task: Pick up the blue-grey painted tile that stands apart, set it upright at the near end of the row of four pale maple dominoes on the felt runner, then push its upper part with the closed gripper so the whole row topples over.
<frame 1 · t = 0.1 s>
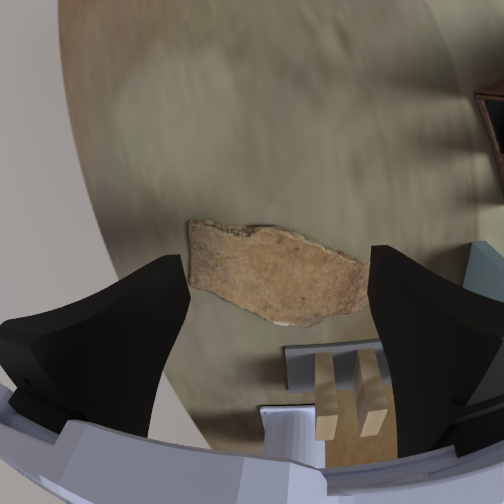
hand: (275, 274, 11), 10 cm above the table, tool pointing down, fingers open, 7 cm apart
tile d: (322, 368, 26), resting on felt runner
felt runner: (411, 358, 25), on the table
pottery shard: (284, 270, 23), on the table
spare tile: (473, 265, 20), on the table
tile c: (362, 364, 26), resting on felt runner
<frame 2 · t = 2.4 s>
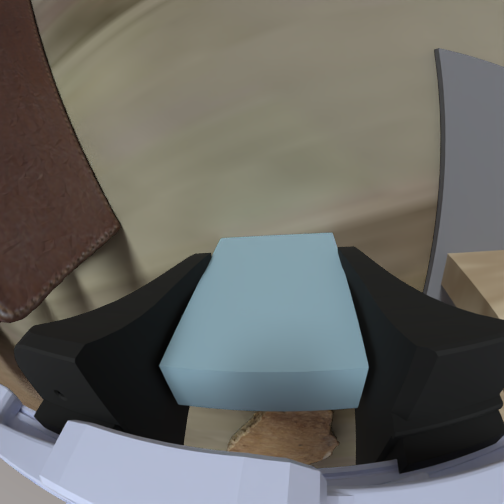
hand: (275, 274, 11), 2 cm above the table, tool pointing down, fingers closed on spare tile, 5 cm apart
felt runner: (466, 316, 13), on the table
pottery shard: (280, 434, 20), on the table
tile a: (480, 266, 11), resting on felt runner
letter holder: (5, 114, 11), on the table
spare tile: (277, 252, 12), on the table, touching gripper
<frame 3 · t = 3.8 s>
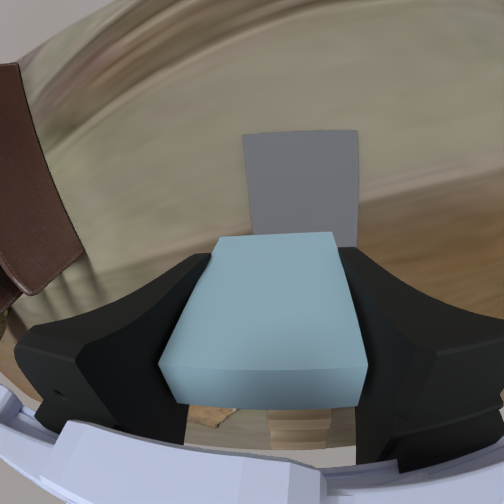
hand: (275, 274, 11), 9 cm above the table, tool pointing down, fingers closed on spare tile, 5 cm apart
tile d: (299, 384, 26), resting on felt runner
felt runner: (306, 306, 22), on the table
cup: (4, 301, 29), on the table
pottery shard: (203, 389, 30), on the table
letter holder: (18, 173, 20), on the table
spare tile: (276, 251, 12), point 7 cm above the table, touching gripper
tile c: (300, 358, 25), resting on felt runner
when the fingers open (2 cm above the table, at t = 5.7 s): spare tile stays where it is, resting on felt runner.
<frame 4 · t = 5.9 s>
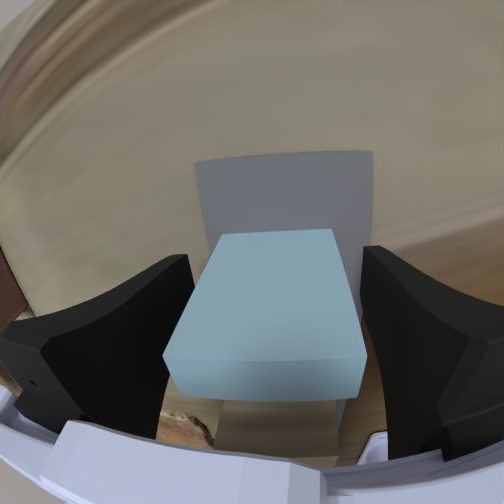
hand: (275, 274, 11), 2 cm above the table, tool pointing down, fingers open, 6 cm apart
felt runner: (294, 377, 17), on the table
pottery shard: (183, 438, 25), on the table
tile a: (284, 343, 15), resting on felt runner
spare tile: (277, 248, 13), resting on felt runner
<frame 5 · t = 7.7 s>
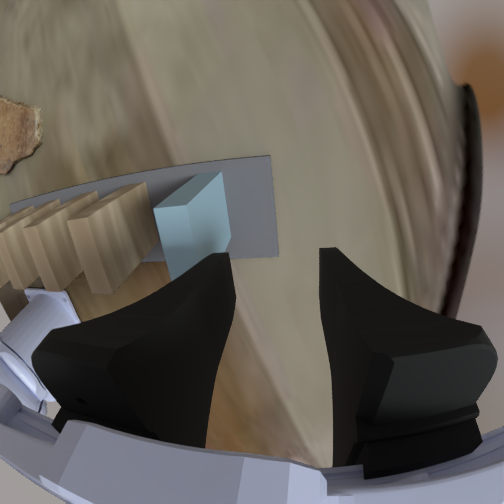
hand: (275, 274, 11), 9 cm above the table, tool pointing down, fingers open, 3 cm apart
tile d: (35, 228, 22), resting on felt runner
tile b: (96, 219, 21), resting on felt runner
felt runner: (109, 221, 21), on the table
pottery shard: (4, 131, 19), on the table
tile a: (142, 213, 20), resting on felt runner
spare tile: (214, 206, 19), resting on felt runner
tile c: (60, 224, 22), resting on felt runner
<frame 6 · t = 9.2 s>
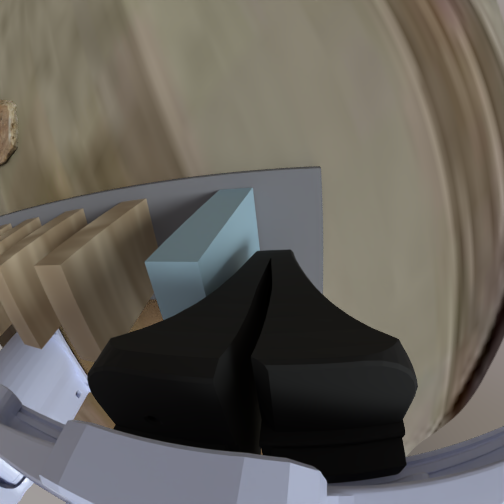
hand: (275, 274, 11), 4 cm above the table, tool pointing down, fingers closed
tile b: (84, 244, 16), resting on felt runner
felt runner: (101, 247, 17), on the table
tile a: (143, 239, 15), resting on felt runner
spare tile: (242, 233, 14), resting on felt runner, touching gripper
tile c: (42, 248, 17), resting on felt runner
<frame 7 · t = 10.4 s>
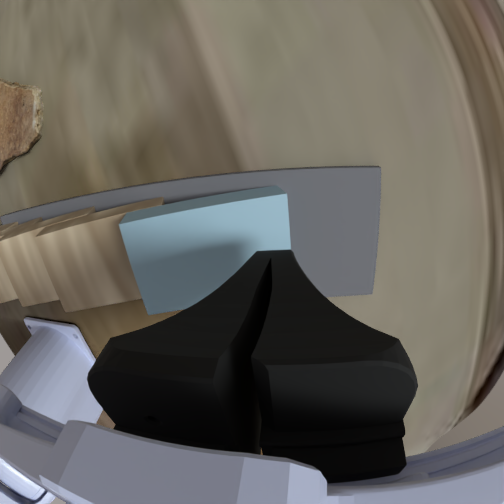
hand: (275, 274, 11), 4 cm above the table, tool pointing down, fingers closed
tile b: (101, 247, 15), point 1 cm above the table, tilted 69°, touching felt runner, tile a, tile c
felt runner: (139, 245, 16), on the table
tile a: (171, 243, 14), point 1 cm above the table, tilted 69°, touching felt runner, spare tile, tile b
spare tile: (285, 237, 14), point 1 cm above the table, tilted 73°, touching felt runner, tile a
tile c: (48, 252, 16), point 1 cm above the table, tilted 63°, touching felt runner, tile b, tile d
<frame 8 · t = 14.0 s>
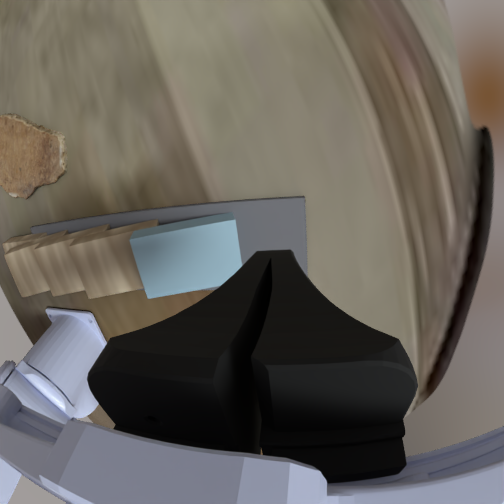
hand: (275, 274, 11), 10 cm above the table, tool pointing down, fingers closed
tile d: (49, 257, 23), point 1 cm above the table, tilted 90°, touching felt runner, tile c
tile b: (115, 253, 22), point 1 cm above the table, tilted 69°, touching felt runner, tile a, tile c
felt runner: (142, 251, 23), on the table
pottery shard: (22, 151, 20), on the table
tile a: (164, 250, 21), point 1 cm above the table, tilted 69°, touching felt runner, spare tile, tile b
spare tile: (238, 247, 20), point 1 cm above the table, tilted 73°, touching felt runner, tile a
tile c: (73, 255, 23), point 1 cm above the table, tilted 63°, touching felt runner, tile b, tile d
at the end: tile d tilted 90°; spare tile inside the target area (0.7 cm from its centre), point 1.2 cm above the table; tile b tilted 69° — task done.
